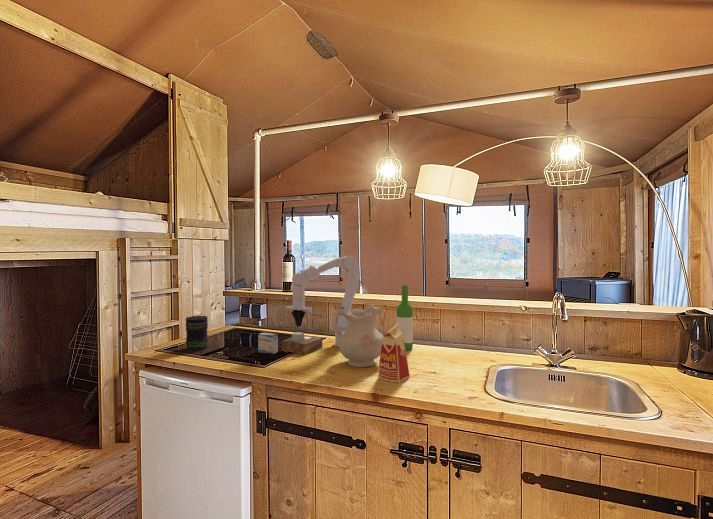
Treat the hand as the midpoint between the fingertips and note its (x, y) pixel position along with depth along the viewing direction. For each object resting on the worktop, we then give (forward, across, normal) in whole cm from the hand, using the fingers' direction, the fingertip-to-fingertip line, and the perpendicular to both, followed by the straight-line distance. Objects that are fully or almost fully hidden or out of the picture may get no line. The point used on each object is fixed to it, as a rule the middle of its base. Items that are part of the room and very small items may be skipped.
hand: (298, 326), depth 194 cm
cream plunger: (+10, +4, +1) cm, 11 cm away
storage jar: (+11, -42, -24) cm, 49 cm away
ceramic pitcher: (+11, +38, -10) cm, 40 cm away
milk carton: (+11, +58, -20) cm, 62 cm away
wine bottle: (+11, +46, +22) cm, 52 cm away
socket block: (+10, +4, -3) cm, 11 cm away
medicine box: (+11, -8, -14) cm, 19 cm away
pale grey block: (+7, +4, -6) cm, 10 cm away
